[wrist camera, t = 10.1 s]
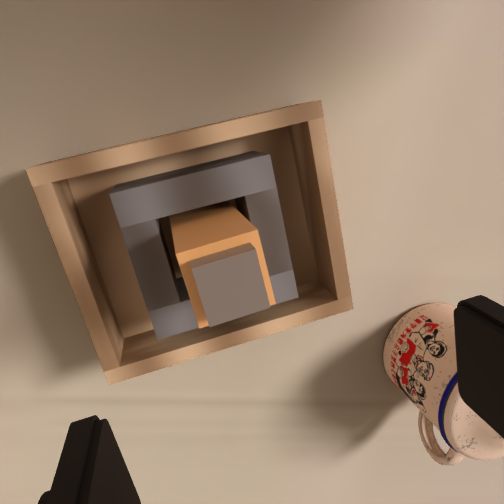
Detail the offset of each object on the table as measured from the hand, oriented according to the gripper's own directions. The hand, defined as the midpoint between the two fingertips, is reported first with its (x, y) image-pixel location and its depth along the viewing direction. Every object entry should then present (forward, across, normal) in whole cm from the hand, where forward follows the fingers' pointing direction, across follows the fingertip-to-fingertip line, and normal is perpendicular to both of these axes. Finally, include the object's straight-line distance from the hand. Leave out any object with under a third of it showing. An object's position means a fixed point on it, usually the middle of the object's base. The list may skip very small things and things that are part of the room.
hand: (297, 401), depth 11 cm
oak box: (+21, +1, 0) cm, 21 cm away
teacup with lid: (+21, -15, +17) cm, 32 cm away
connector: (+20, 0, 0) cm, 20 cm away
